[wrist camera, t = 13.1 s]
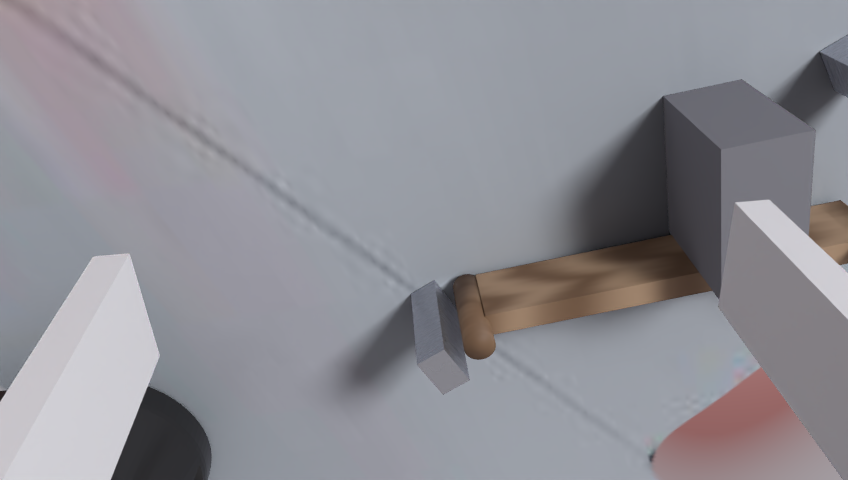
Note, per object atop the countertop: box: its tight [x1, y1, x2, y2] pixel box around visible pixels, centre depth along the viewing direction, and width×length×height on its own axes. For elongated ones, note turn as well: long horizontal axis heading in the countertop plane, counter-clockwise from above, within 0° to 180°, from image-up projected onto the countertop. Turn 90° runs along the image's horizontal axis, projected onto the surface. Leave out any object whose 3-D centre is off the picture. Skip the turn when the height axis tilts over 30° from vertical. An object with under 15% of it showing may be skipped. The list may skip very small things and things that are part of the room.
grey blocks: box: [411, 35, 848, 395], centre depth 47 cm, size 33×3×8 cm, turn 124°
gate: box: [453, 200, 848, 360], centre depth 49 cm, size 27×3×7 cm, turn 101°
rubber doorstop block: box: [663, 79, 816, 299], centre depth 46 cm, size 5×10×9 cm, turn 11°
